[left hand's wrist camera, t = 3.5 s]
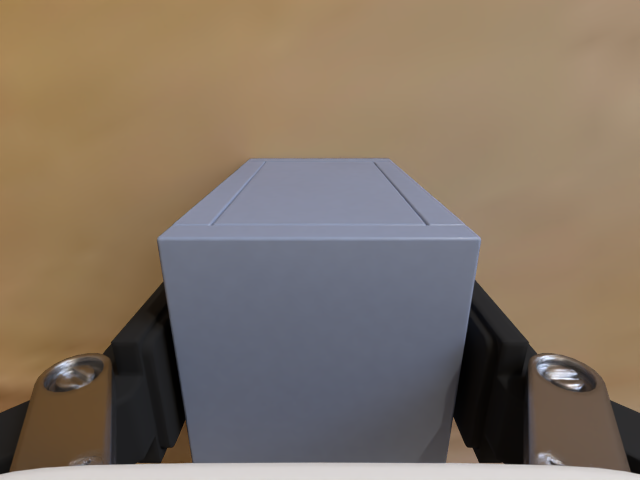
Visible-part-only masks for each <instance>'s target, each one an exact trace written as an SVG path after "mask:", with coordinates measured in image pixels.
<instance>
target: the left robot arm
mask: <svg viewBox="0 0 640 480" xmlns="http://www.w3.org/2000/svg"><path fill="white" fill-rule="evenodd" d="M453 417H454V419H455V422H456V424H457V426H458V429H459V431H460V434H461V436H462V438H463V441H464V443H465V445H466V446H467V447H468V448H473V450H474V452H475V454H476V457H477V459H478V461H479V463H502V462H503V463H504V464H467V463H173V464H136V463H137V462H138V463H161V461H162V459H163V457H164V454H165V452H166V450H167V448H172V447H173V446H174V445H175V443H176V441H177V438H178V436H179V434H180V431H181V429H182V426H183V424H184V422H185V419H186V418H185V412H184V406H183V399H182V393H181V387H180V381H179V374H178V368H177V362H176V356H175V349H174V343H173V337H172V331H171V324H170V318H169V312H168V306H167V299H166V293H165V287H164V282H163V283H162V284H161V285H160V286H159V287H158V289H157V290H156V291H155V292H154V293H153V294H152V296H151V297H150V298H149V299H148V300H147V301H146V302H145V304H144V305H143V306H142V307H141V308H140V309H139V311H138V312H137V313H136V314H135V315H134V316H133V318H132V319H131V320H130V321H129V322H128V323H127V324H126V326H125V327H124V328H123V329H122V330H121V331H120V333H119V334H118V335H117V336H116V337H115V338H114V340H113V341H112V342H111V345H110V346H109V347H108V348H107V350H106V351H105V352H104V353H103V354H99V353H87V354H81V355H76V356H73V357H70V358H67V359H64V360H62V361H60V362H58V363H56V364H54V365H53V366H51V367H50V368H48V369H47V370H45V371H44V372H43V373H42V374H41V375H40V376H39V377H38V379H37V381H36V383H35V385H34V388H33V392H32V395H31V399H30V400H29V401H27V402H25V403H22V404H20V405H18V406H15V407H13V408H11V409H8V410H6V411H4V412H2V413H0V480H640V413H638V412H636V411H634V410H632V409H629V408H627V407H625V406H622V405H620V404H618V403H615V402H613V401H611V400H610V399H609V395H608V392H607V388H606V385H605V383H604V381H603V379H602V377H601V376H600V375H599V374H598V373H597V372H596V371H595V370H593V369H592V368H590V367H589V366H587V365H586V364H584V363H582V362H580V361H578V360H576V359H573V358H570V357H567V356H564V355H559V354H553V353H541V354H537V353H536V352H535V351H534V350H533V348H532V347H531V346H530V345H529V342H528V341H527V340H526V338H525V337H524V336H523V335H522V334H521V333H520V331H519V330H518V329H517V328H516V327H515V326H514V324H513V323H512V322H511V321H510V320H509V319H508V318H507V316H506V315H505V314H504V313H503V312H502V311H501V309H500V308H499V307H498V306H497V305H496V304H495V302H494V301H493V300H492V299H491V298H490V297H489V296H488V294H487V293H486V292H485V291H484V290H483V289H482V287H481V286H480V285H479V284H478V283H477V282H476V280H475V281H474V287H473V294H472V300H471V306H470V313H469V319H468V325H467V332H466V338H465V344H464V351H463V357H462V363H461V370H460V376H459V382H458V389H457V395H456V401H455V408H454V414H453Z"/></svg>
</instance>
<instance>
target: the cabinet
mask: <svg viewBox="0 0 640 480" xmlns="http://www.w3.org/2000/svg"><path fill="white" fill-rule="evenodd" d="M157 243H158V249H159V256H160V262H161V268H162V274H163V281H164V287H165V293H166V299H167V306H168V312H169V318H170V324H171V331H172V337H173V343H174V349H175V356H176V362H177V368H178V374H179V381H180V387H181V393H182V399H183V406H184V412H185V418H186V424H187V431H188V437H189V443H190V449H191V456H192V462H193V463H446V458H447V452H448V446H449V439H450V433H451V427H452V420H453V414H454V408H455V401H456V395H457V389H458V382H459V376H460V370H461V363H462V357H463V351H464V344H465V338H466V332H467V325H468V319H469V313H470V306H471V300H472V294H473V287H474V281H475V275H476V268H477V262H478V256H479V249H480V243H481V238H480V237H479V236H478V235H477V234H476V233H474V232H473V231H472V230H471V229H470V228H469V227H467V226H466V225H465V224H464V223H463V222H462V221H461V220H460V219H458V218H457V217H456V216H455V215H454V214H453V213H451V212H450V211H449V210H448V209H447V208H446V207H444V206H443V205H442V204H441V203H440V202H439V201H437V200H436V199H435V198H434V197H433V196H432V195H430V194H429V193H428V192H427V191H426V190H425V189H423V188H422V187H421V186H420V185H419V184H418V183H416V182H415V181H414V180H413V179H412V178H411V177H409V176H408V175H407V174H406V173H405V172H404V171H402V170H401V169H400V168H399V167H398V166H397V165H396V164H394V163H393V162H392V161H391V160H390V159H249V160H248V161H247V162H246V163H245V164H243V165H242V166H241V167H240V168H239V169H237V170H236V171H235V172H234V173H233V174H232V175H230V176H229V177H228V178H227V179H226V180H224V181H223V182H222V183H221V184H220V185H219V186H217V187H216V188H215V189H214V190H213V191H212V192H210V193H209V194H208V195H207V196H206V197H204V198H203V199H202V200H201V201H200V202H199V203H197V204H196V205H195V206H194V207H193V208H191V209H190V210H189V211H188V212H187V213H186V214H184V215H183V216H182V217H181V218H180V219H179V220H177V221H176V222H175V223H174V224H173V226H171V227H170V228H168V229H167V230H166V231H165V232H164V233H162V234H161V235H160V236H159V237H158V239H157Z"/></svg>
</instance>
